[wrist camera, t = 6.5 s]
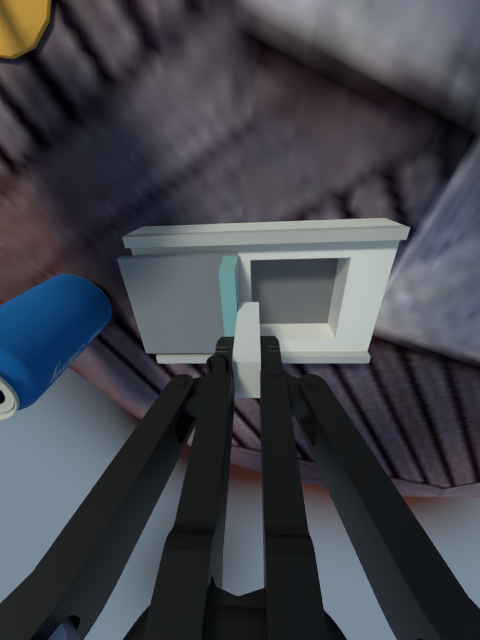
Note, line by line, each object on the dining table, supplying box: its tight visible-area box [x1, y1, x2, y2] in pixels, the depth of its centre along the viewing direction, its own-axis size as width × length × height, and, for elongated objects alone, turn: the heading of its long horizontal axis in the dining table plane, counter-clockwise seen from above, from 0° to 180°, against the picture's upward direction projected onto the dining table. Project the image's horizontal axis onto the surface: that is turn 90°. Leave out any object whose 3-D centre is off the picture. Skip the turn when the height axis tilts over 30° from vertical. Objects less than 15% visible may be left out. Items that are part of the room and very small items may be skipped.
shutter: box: [117, 253, 240, 353], centre depth 19 cm, size 9×9×4 cm
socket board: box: [122, 218, 410, 363], centre depth 22 cm, size 12×20×4 cm, turn 92°
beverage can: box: [0, 274, 112, 420], centre depth 20 cm, size 6×6×12 cm
